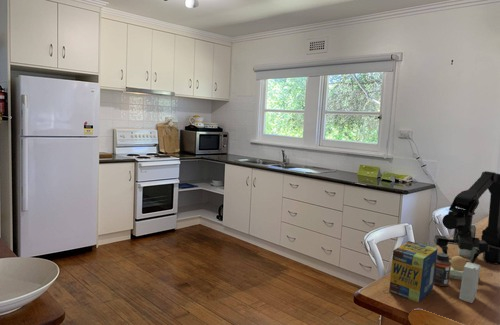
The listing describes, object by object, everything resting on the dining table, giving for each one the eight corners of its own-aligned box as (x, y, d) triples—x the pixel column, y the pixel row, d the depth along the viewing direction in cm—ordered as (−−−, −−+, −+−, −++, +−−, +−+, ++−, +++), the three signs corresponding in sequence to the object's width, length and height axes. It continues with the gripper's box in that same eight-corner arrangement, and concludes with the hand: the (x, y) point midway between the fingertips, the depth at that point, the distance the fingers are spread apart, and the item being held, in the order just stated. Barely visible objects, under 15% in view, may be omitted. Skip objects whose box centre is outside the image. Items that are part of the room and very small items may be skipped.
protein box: (388, 292, 134) (392, 250, 132) (404, 279, 146) (408, 240, 144) (418, 303, 127) (423, 258, 125) (433, 288, 139) (438, 248, 137)
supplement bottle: (450, 287, 140) (454, 258, 139) (433, 285, 141) (436, 256, 140) (445, 281, 146) (449, 252, 144) (429, 279, 147) (432, 250, 146)
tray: (469, 270, 158) (470, 263, 157) (478, 282, 146) (479, 274, 146) (438, 265, 161) (438, 259, 161) (444, 277, 149) (445, 269, 149)
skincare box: (462, 293, 136) (466, 261, 134) (476, 297, 133) (481, 264, 132) (458, 299, 131) (462, 265, 130) (473, 304, 128) (477, 269, 127)
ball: (463, 268, 156) (465, 254, 155) (467, 274, 150) (469, 260, 149) (447, 266, 157) (449, 252, 156) (451, 272, 151) (452, 258, 151)
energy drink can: (469, 258, 171) (473, 226, 169) (455, 254, 175) (459, 223, 174) (474, 256, 175) (478, 224, 173) (460, 252, 179) (464, 221, 178)
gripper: (441, 228, 146) (437, 267, 148) (496, 235, 141) (491, 275, 143) (435, 221, 156) (431, 257, 158) (486, 226, 152) (481, 264, 154)
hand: (458, 263), depth 153 cm, fingers open, 9 cm apart
